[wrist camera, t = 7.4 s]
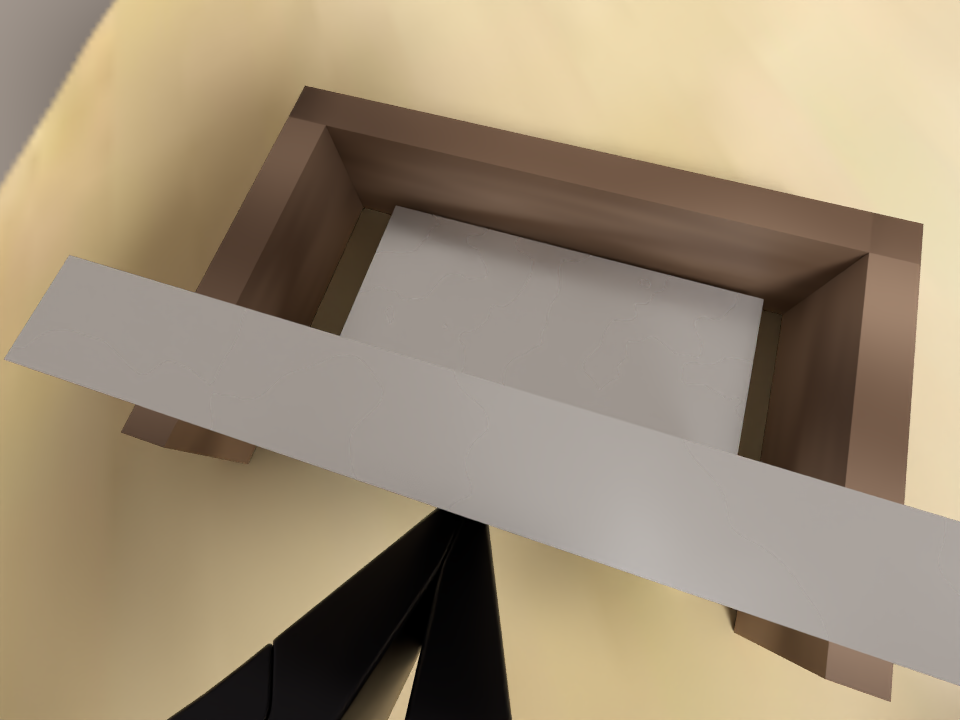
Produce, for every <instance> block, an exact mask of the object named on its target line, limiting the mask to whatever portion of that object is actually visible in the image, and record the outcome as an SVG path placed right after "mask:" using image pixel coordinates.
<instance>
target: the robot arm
mask: <svg viewBox="0 0 960 720" xmlns="http://www.w3.org/2000/svg"><path fill="white" fill-rule="evenodd" d="M420 650H421V651H420ZM419 653H420V656H419V660H418V664H417V669H416V673H415V677H414V682H413V686H412V690H411V695H410V699H409V704H408V708H407V712H406V717H405V720H512V716H511V708H510V699H509V691H508V683H507V674H506V666H505V658H504V649H503V641H502V633H501V624H500V616H499V608H498V599H497V591H496V583H495V574H494V566H493V558H492V549H491V541H490V533H489V525H487V524H484V523H481V522H478V521H475V520H473V519H470V518H467V517H464V516H461V515H458V514H455V513H452V512H449V511H446V510H443V509H440V508H436V509H435V510H434V511H433V512H431V513H430V514H429V515H428V516H426V517H425V518H424V519H423V520H422V521H420V522H419V523H418V524H417V525H415V526H414V527H413V528H412V529H410V530H409V531H408V532H407V533H405V534H404V535H403V536H402V537H400V538H399V539H398V540H397V541H395V542H394V543H393V544H392V545H391V546H389V547H388V548H387V549H386V550H384V551H383V552H382V553H381V554H379V555H378V556H377V557H376V558H374V559H373V560H372V561H371V562H369V563H368V564H367V565H366V566H364V567H363V568H362V569H361V570H359V571H358V572H357V573H356V574H355V575H353V576H352V577H351V578H350V579H348V580H347V581H346V582H345V583H343V584H342V585H341V586H340V587H338V588H337V589H336V590H335V591H333V592H332V593H331V594H330V595H328V596H327V597H326V598H325V599H324V600H322V601H321V602H320V603H319V604H317V605H316V606H315V607H314V608H312V609H311V610H310V611H309V612H307V613H306V614H305V615H304V616H302V617H301V618H300V619H299V620H297V621H296V622H295V623H294V624H293V625H291V626H290V627H289V628H288V629H286V630H285V631H284V632H283V633H281V634H280V635H279V636H278V637H276V638H275V639H274V641H273V645H272V644H267V645H266V646H265V647H264V648H262V649H261V650H260V651H259V652H257V653H256V654H255V655H254V656H252V657H251V658H250V659H249V660H248V661H246V662H245V663H244V664H243V665H241V666H240V667H239V668H237V669H236V670H235V671H233V672H232V673H231V674H229V675H228V676H227V677H226V678H224V679H223V680H222V681H220V682H219V683H218V684H216V685H215V686H214V687H212V688H211V689H210V690H209V691H207V692H206V693H205V694H203V695H202V696H200V697H199V698H197V699H196V700H195V701H193V702H192V703H190V704H189V705H187V706H186V707H184V708H183V709H182V710H180V711H179V712H177V713H176V714H174V715H173V716H172V717H170V718H169V719H167V720H388V718H389V716H390V714H391V712H392V709H393V707H394V705H395V703H396V701H397V699H398V697H399V695H400V693H401V691H402V689H403V686H404V684H405V682H406V680H407V678H408V676H409V674H410V672H411V670H412V668H413V666H414V663H415V661H416V659H417V657H418V655H419Z"/></svg>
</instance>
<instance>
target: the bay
mask: <svg viewBox="0 0 960 720" xmlns="http://www.w3.org/2000/svg"><path fill="white" fill-rule="evenodd" d="M395 206H400V207H404V208H408V209H412V210H416V211H420V212H424V213H428V214H431V215H435V216H439V217H443V218H447V219H451V220H455V221H459V222H463V223H467V224H471V225H475V226H478V227H482V228H486V229H490V230H494V231H498V232H502V233H506V234H510V235H514V236H518V237H522V238H525V239H529V240H533V241H537V242H541V243H545V244H549V245H553V246H557V247H561V248H565V249H569V250H573V251H576V252H580V253H584V254H588V255H592V256H596V257H600V258H604V259H608V260H612V261H616V262H620V263H623V264H627V265H631V266H635V267H639V268H643V269H647V270H651V271H655V272H659V273H663V274H667V275H670V276H674V277H678V278H682V279H686V280H690V281H694V282H698V283H702V284H706V285H710V286H714V287H718V288H721V289H725V290H729V291H733V292H737V293H741V294H745V295H749V296H753V297H757V298H761V299H764V301H763V307H762V310H766V311H770V312H774V313H778V314H782V315H783V316H782V323H781V329H780V336H779V342H778V349H777V355H776V362H775V368H774V375H773V381H772V388H771V394H770V401H769V407H768V414H767V421H766V427H765V434H764V440H763V447H762V453H761V460H760V462H762V463H766V464H769V465H772V466H776V467H779V468H782V469H786V470H789V471H792V472H796V473H799V474H802V475H806V476H809V477H812V478H816V479H819V480H822V481H826V482H829V483H832V484H836V485H839V486H842V487H846V488H849V489H852V490H856V491H859V492H862V493H866V494H869V495H872V496H876V497H879V498H882V499H886V500H889V501H892V502H896V503H899V504H902V505H904V499H905V484H906V470H907V455H908V440H909V426H910V411H911V397H912V382H913V368H914V353H915V339H916V324H917V310H918V295H919V281H920V266H921V251H922V237H923V224H921V223H917V222H912V221H908V220H903V219H899V218H894V217H890V216H885V215H881V214H876V213H872V212H867V211H863V210H858V209H854V208H850V207H845V206H841V205H836V204H832V203H827V202H823V201H818V200H814V199H809V198H805V197H800V196H796V195H791V194H787V193H782V192H778V191H773V190H769V189H765V188H760V187H756V186H751V185H747V184H742V183H738V182H733V181H729V180H724V179H720V178H715V177H711V176H706V175H702V174H697V173H693V172H688V171H684V170H680V169H675V168H671V167H666V166H662V165H657V164H653V163H648V162H644V161H639V160H635V159H630V158H626V157H621V156H617V155H612V154H608V153H603V152H599V151H595V150H590V149H586V148H581V147H577V146H572V145H568V144H563V143H559V142H554V141H550V140H545V139H541V138H536V137H532V136H527V135H523V134H518V133H514V132H510V131H505V130H501V129H496V128H492V127H487V126H483V125H478V124H474V123H469V122H465V121H460V120H456V119H451V118H447V117H442V116H438V115H433V114H429V113H425V112H420V111H416V110H411V109H407V108H402V107H398V106H393V105H389V104H384V103H380V102H375V101H371V100H366V99H362V98H357V97H353V96H348V95H344V94H340V93H335V92H331V91H326V90H322V89H317V88H313V87H308V86H305V87H304V89H303V91H302V93H301V95H300V97H299V98H298V100H297V102H296V104H295V106H294V108H293V110H292V112H291V113H290V115H289V117H288V119H287V121H286V123H285V125H284V127H283V128H282V130H281V132H280V134H279V136H278V138H277V140H276V142H275V144H274V145H273V147H272V149H271V151H270V153H269V155H268V157H267V159H266V160H265V162H264V164H263V166H262V168H261V170H260V172H259V174H258V176H257V177H256V179H255V181H254V183H253V185H252V187H251V189H250V191H249V192H248V194H247V196H246V198H245V200H244V202H243V204H242V206H241V207H240V209H239V211H238V213H237V215H236V217H235V219H234V221H233V223H232V224H231V226H230V228H229V230H228V232H227V234H226V236H225V238H224V239H223V241H222V243H221V245H220V247H219V249H218V251H217V253H216V255H215V256H214V258H213V260H212V262H211V264H210V266H209V268H208V270H207V271H206V273H205V275H204V277H203V279H202V281H201V283H200V285H199V286H198V288H197V290H196V292H195V293H198V294H201V295H204V296H208V297H211V298H214V299H218V300H221V301H224V302H228V303H231V304H234V305H238V306H241V307H244V308H248V309H251V310H254V311H258V312H261V313H265V314H268V315H271V316H275V317H278V318H281V319H285V320H288V321H291V322H295V323H298V324H301V325H305V326H308V327H310V325H311V323H312V321H313V318H314V316H315V314H316V312H317V309H318V307H319V305H320V303H321V300H322V298H323V296H324V294H325V292H326V289H327V287H328V285H329V283H330V280H331V278H332V276H333V274H334V271H335V269H336V267H337V265H338V263H339V260H340V258H341V256H342V254H343V251H344V249H345V247H346V245H347V243H348V240H349V238H350V236H351V234H352V231H353V229H354V227H355V225H356V222H357V220H358V218H359V216H360V214H361V211H362V209H363V207H364V208H368V209H372V210H376V211H380V212H384V213H388V214H392V213H393V211H394V209H395ZM121 433H124V434H127V435H130V436H133V437H135V438H138V439H141V440H144V441H147V442H150V443H153V444H155V445H158V446H161V447H164V448H169V449H174V450H179V451H184V452H189V453H194V454H200V455H205V456H210V457H215V458H220V459H225V460H230V461H235V462H240V463H245V464H248V463H249V461H250V459H251V456H252V454H253V452H254V450H255V448H256V445H253V444H250V443H247V442H244V441H241V440H238V439H235V438H232V437H230V436H227V435H224V434H221V433H218V432H215V431H212V430H209V429H206V428H203V427H200V426H197V425H194V424H191V423H189V422H186V421H183V420H180V419H177V418H174V417H171V416H168V415H165V414H162V413H159V412H156V411H153V410H151V409H148V408H145V407H142V406H139V405H135V407H134V409H133V411H132V412H131V414H130V416H129V418H128V420H127V422H126V424H125V426H124V428H123V429H122V431H121ZM734 633H736V634H738V635H740V636H742V637H744V638H746V639H748V640H750V641H752V642H754V643H756V644H758V645H760V646H762V647H764V648H766V649H768V650H770V651H772V652H774V653H775V654H777V655H779V656H781V657H783V658H785V659H787V660H789V661H791V662H793V663H795V664H797V665H799V666H801V667H803V668H805V669H807V670H809V671H811V672H813V673H815V674H817V675H818V676H820V677H822V678H824V679H827V680H830V681H833V682H835V683H838V684H841V685H844V686H847V687H850V688H853V689H855V690H858V691H861V692H864V693H867V694H870V695H873V696H875V697H878V698H881V699H884V700H887V701H890V702H891V688H892V673H893V663H891V662H888V661H885V660H882V659H880V658H877V657H874V656H871V655H868V654H865V653H862V652H859V651H856V650H853V649H850V648H847V647H844V646H841V645H839V644H836V643H833V642H830V641H827V640H824V639H821V638H818V637H815V636H812V635H809V634H806V633H803V632H800V631H798V630H795V629H792V628H789V627H786V626H783V625H780V624H777V623H774V622H771V621H768V620H765V619H762V618H759V617H757V616H754V615H751V614H748V613H745V612H742V611H739V610H737V616H736V622H735V629H734Z"/></svg>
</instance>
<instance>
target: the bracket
mask: <svg viewBox="0 0 960 720" xmlns="http://www.w3.org/2000/svg"><path fill="white" fill-rule="evenodd" d="M763 301H764V299H761V298H757V297H753V296H749V295H745V294H741V293H737V292H733V291H729V290H725V289H721V288H718V287H714V286H710V285H706V284H702V283H698V282H694V281H690V280H686V279H682V278H678V277H674V276H670V275H667V274H663V273H659V272H655V271H651V270H647V269H643V268H639V267H635V266H631V265H627V264H623V263H620V262H616V261H612V260H608V259H604V258H600V257H596V256H592V255H588V254H584V253H580V252H576V251H573V250H569V249H565V248H561V247H557V246H553V245H549V244H545V243H541V242H537V241H533V240H529V239H525V238H522V237H518V236H514V235H510V234H506V233H502V232H498V231H494V230H490V229H486V228H482V227H478V226H475V225H471V224H467V223H463V222H459V221H455V220H451V219H447V218H443V217H439V216H435V215H431V214H428V213H424V212H420V211H416V210H412V209H408V208H404V207H400V206H395V209H394V211H393V213H392V216H391V218H390V220H389V223H388V225H387V227H386V230H385V232H384V234H383V236H382V239H381V241H380V243H379V246H378V248H377V250H376V253H375V255H374V257H373V260H372V262H371V264H370V267H369V269H368V271H367V274H366V276H365V278H364V281H363V283H362V285H361V288H360V290H359V292H358V295H357V297H356V299H355V302H354V304H353V306H352V309H351V311H350V313H349V316H348V318H347V320H346V323H345V325H344V327H343V330H342V332H341V334H340V336H338V335H335V334H331V333H328V332H325V331H321V330H318V329H315V328H311V327H308V326H305V325H301V324H298V323H295V322H291V321H288V320H285V319H281V318H278V317H275V316H271V315H268V314H265V313H261V312H258V311H254V310H251V309H248V308H244V307H241V306H238V305H234V304H231V303H228V302H224V301H221V300H218V299H214V298H211V297H208V296H204V295H201V294H198V293H194V292H191V291H188V290H184V289H181V288H178V287H174V286H171V285H168V284H164V283H161V282H158V281H154V280H151V279H148V278H144V277H141V276H138V275H134V274H131V273H128V272H124V271H121V270H118V269H114V268H111V267H108V266H104V265H101V264H98V263H94V262H91V261H87V260H84V259H81V258H77V257H74V256H71V255H69V257H68V258H67V260H66V261H65V263H64V265H63V266H62V268H61V269H60V271H59V272H58V274H57V276H56V277H55V279H54V280H53V282H52V284H51V285H50V287H49V288H48V290H47V292H46V293H45V295H44V296H43V298H42V299H41V301H40V303H39V304H38V306H37V307H36V309H35V311H34V312H33V314H32V315H31V317H30V319H29V320H28V322H27V323H26V325H25V326H24V328H23V330H22V331H21V333H20V334H19V336H18V338H17V339H16V341H15V342H14V344H13V346H12V347H11V349H10V350H9V352H8V353H7V355H6V357H5V358H4V360H7V361H10V362H13V363H16V364H19V365H22V366H25V367H28V368H30V369H33V370H36V371H39V372H42V373H45V374H48V375H51V376H54V377H57V378H60V379H63V380H66V381H69V382H71V383H74V384H77V385H80V386H83V387H86V388H89V389H92V390H95V391H98V392H101V393H104V394H107V395H110V396H112V397H115V398H118V399H121V400H124V401H127V402H130V403H133V404H136V405H139V406H142V407H145V408H148V409H151V410H153V411H156V412H159V413H162V414H165V415H168V416H171V417H174V418H177V419H180V420H183V421H186V422H189V423H191V424H194V425H197V426H200V427H203V428H206V429H209V430H212V431H215V432H218V433H221V434H224V435H227V436H230V437H232V438H235V439H238V440H241V441H244V442H247V443H250V444H253V445H256V446H259V447H262V448H265V449H268V450H271V451H273V452H276V453H279V454H282V455H285V456H288V457H291V458H294V459H297V460H300V461H303V462H306V463H309V464H312V465H314V466H317V467H320V468H323V469H326V470H329V471H332V472H335V473H338V474H341V475H344V476H347V477H350V478H353V479H355V480H358V481H361V482H364V483H367V484H370V485H373V486H376V487H379V488H382V489H385V490H388V491H391V492H394V493H396V494H399V495H402V496H405V497H408V498H411V499H414V500H417V501H420V502H423V503H426V504H429V505H432V506H434V507H437V508H440V509H443V510H446V511H449V512H452V513H455V514H458V515H461V516H464V517H467V518H470V519H473V520H475V521H478V522H481V523H484V524H487V525H490V526H493V527H496V528H499V529H502V530H505V531H508V532H511V533H514V534H516V535H519V536H522V537H525V538H528V539H531V540H534V541H537V542H540V543H543V544H546V545H549V546H552V547H555V548H557V549H560V550H563V551H566V552H569V553H572V554H575V555H578V556H581V557H584V558H587V559H590V560H593V561H596V562H598V563H601V564H604V565H607V566H610V567H613V568H616V569H619V570H622V571H625V572H628V573H631V574H634V575H637V576H639V577H642V578H645V579H648V580H651V581H654V582H657V583H660V584H663V585H666V586H669V587H672V588H675V589H677V590H680V591H683V592H686V593H689V594H692V595H695V596H698V597H701V598H704V599H707V600H710V601H713V602H716V603H718V604H721V605H724V606H727V607H730V608H733V609H736V610H739V611H742V612H745V613H748V614H751V615H754V616H757V617H759V618H762V619H765V620H768V621H771V622H774V623H777V624H780V625H783V626H786V627H789V628H792V629H795V630H798V631H800V632H803V633H806V634H809V635H812V636H815V637H818V638H821V639H824V640H827V641H830V642H833V643H836V644H839V645H841V646H844V647H847V648H850V649H853V650H856V651H859V652H862V653H865V654H868V655H871V656H874V657H877V658H880V659H882V660H885V661H888V662H891V663H894V664H897V665H900V666H903V667H906V668H909V669H912V670H915V671H918V672H920V673H923V674H926V675H929V676H932V677H935V678H938V679H941V680H944V681H947V682H950V683H953V684H956V685H959V686H960V522H959V521H956V520H953V519H949V518H946V517H943V516H939V515H936V514H933V513H929V512H926V511H923V510H919V509H916V508H912V507H909V506H906V505H902V504H899V503H896V502H892V501H889V500H886V499H882V498H879V497H876V496H872V495H869V494H866V493H862V492H859V491H856V490H852V489H849V488H846V487H842V486H839V485H836V484H832V483H829V482H826V481H822V480H819V479H816V478H812V477H809V476H806V475H802V474H799V473H796V472H792V471H789V470H786V469H782V468H779V467H776V466H772V465H769V464H766V463H762V462H759V461H756V460H752V459H749V458H745V457H742V456H739V455H738V449H739V443H740V437H741V431H742V425H743V419H744V413H745V407H746V401H747V396H748V390H749V384H750V378H751V372H752V366H753V360H754V354H755V348H756V342H757V336H758V331H759V325H760V319H761V313H762V307H763Z"/></svg>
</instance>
